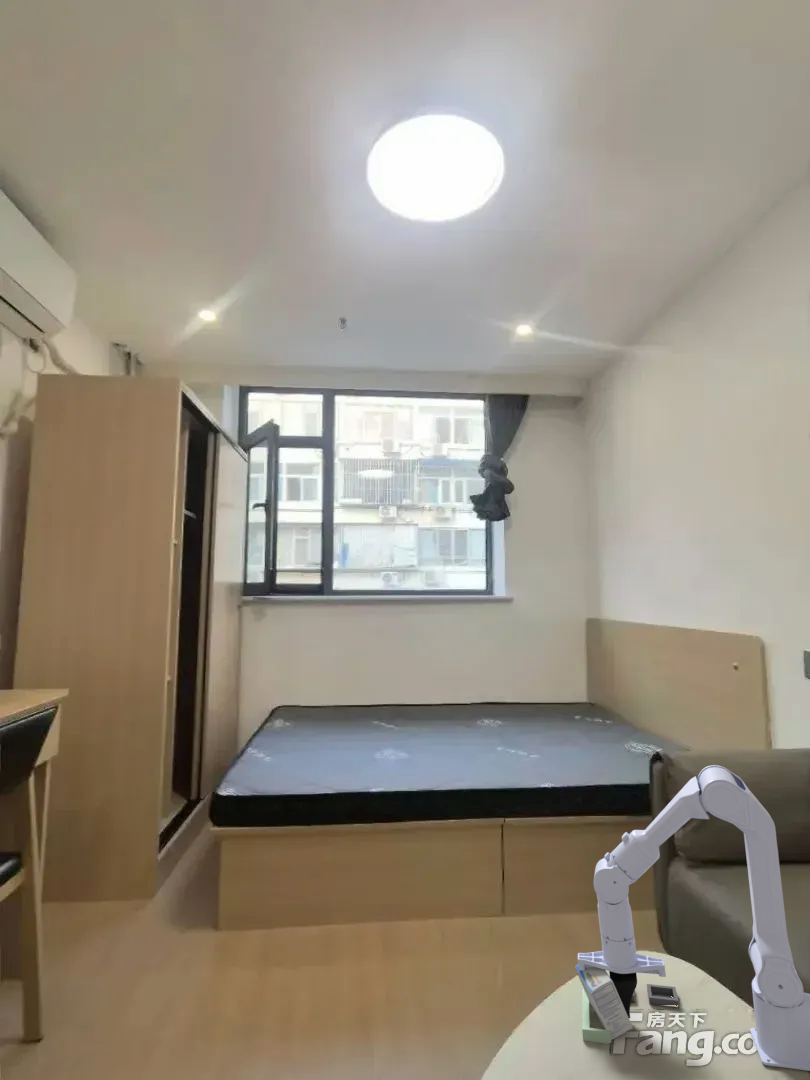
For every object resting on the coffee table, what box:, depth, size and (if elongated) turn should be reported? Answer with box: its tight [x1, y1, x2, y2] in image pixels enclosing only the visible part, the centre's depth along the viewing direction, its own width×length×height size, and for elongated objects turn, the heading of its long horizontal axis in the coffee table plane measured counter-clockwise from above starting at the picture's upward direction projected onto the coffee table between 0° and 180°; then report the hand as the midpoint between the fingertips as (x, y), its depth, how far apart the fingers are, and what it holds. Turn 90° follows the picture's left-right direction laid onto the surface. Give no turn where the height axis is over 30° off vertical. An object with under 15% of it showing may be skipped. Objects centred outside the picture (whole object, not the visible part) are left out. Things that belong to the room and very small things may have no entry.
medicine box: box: [574, 964, 633, 1041], centre depth 108 cm, size 8×4×9 cm, turn 5°
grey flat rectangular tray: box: [646, 983, 680, 1006], centre depth 114 cm, size 5×4×1 cm
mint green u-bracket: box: [581, 987, 612, 1045], centre depth 109 cm, size 5×11×2 cm, turn 164°
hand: (626, 1014), depth 108 cm, fingers closed, pressing on medicine box
